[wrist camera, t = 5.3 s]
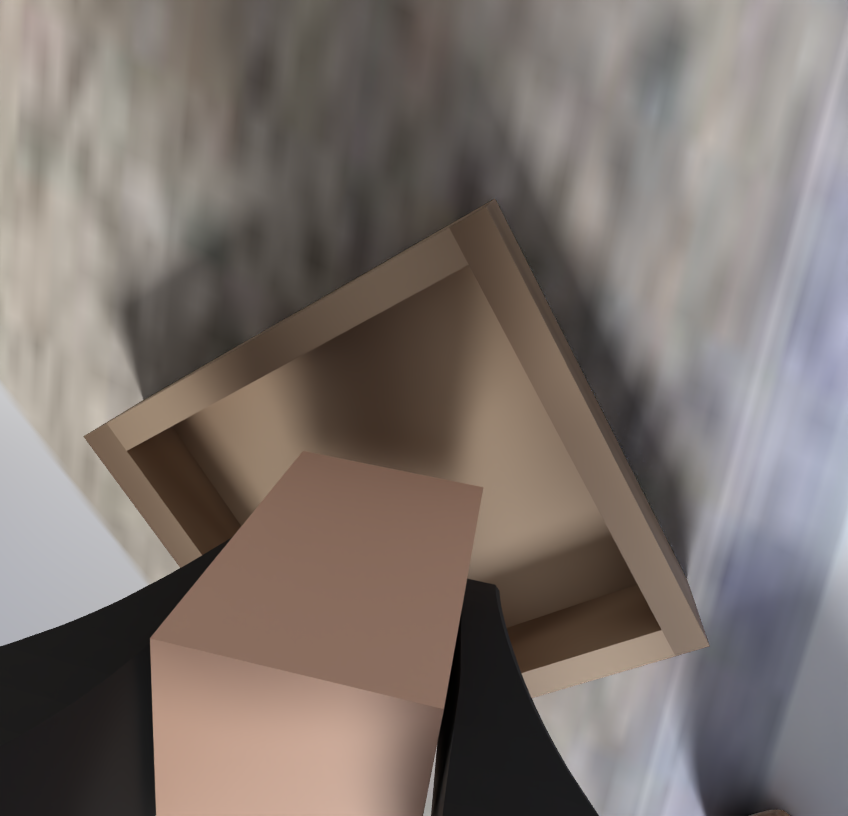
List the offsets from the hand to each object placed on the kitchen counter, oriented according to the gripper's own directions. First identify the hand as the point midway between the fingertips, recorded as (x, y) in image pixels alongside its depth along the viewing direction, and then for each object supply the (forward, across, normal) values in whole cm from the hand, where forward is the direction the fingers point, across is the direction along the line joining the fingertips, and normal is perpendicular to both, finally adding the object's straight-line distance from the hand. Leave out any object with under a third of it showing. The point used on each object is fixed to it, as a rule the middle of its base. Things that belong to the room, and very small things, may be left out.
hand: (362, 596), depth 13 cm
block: (+2, 0, 0) cm, 2 cm away
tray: (+5, 0, 0) cm, 5 cm away
